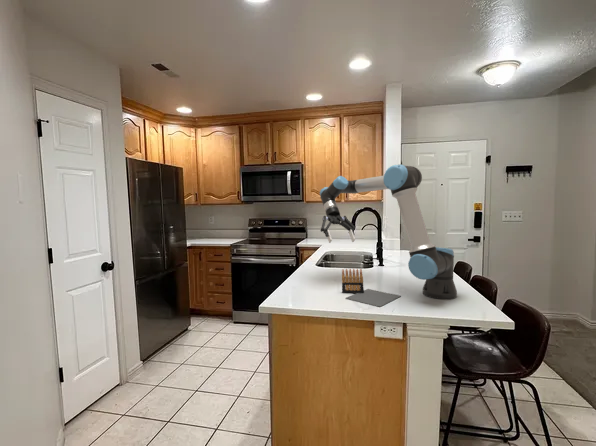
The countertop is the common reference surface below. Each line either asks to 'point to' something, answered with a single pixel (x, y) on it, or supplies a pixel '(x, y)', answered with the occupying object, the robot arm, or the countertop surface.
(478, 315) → the countertop surface
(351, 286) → the ammunition clip
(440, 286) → the robot arm
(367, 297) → the rubber mat
